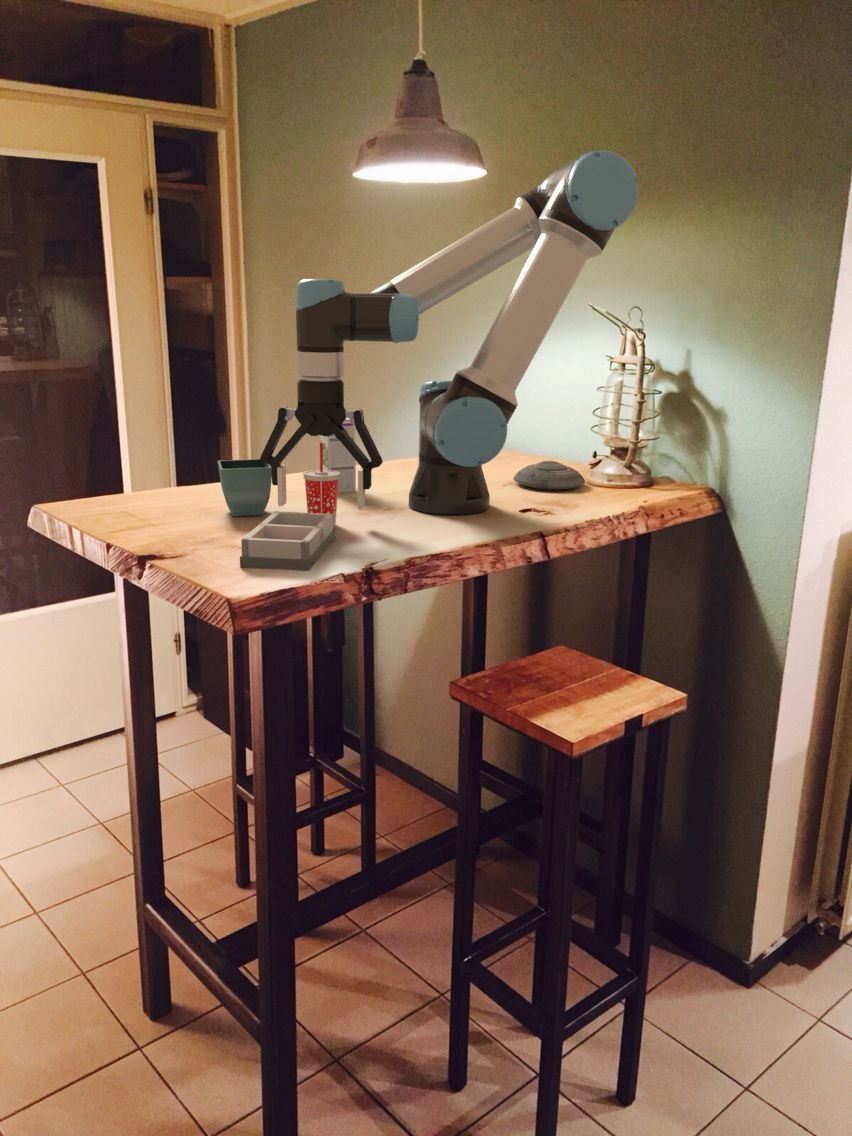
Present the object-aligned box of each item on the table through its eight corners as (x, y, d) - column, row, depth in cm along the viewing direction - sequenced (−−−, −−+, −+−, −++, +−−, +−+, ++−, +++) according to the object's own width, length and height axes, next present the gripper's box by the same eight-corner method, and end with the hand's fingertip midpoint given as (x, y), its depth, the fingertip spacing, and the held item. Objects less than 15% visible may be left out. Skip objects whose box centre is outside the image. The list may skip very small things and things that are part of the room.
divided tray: (335, 537, 150) (335, 513, 149) (308, 570, 132) (308, 543, 131) (275, 534, 151) (274, 510, 150) (240, 567, 133) (239, 539, 132)
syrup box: (356, 492, 185) (356, 419, 181) (327, 494, 183) (327, 420, 179) (348, 487, 190) (348, 415, 186) (320, 488, 188) (319, 416, 184)
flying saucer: (594, 484, 200) (596, 459, 198) (570, 496, 187) (572, 469, 186) (528, 477, 207) (530, 452, 205) (501, 488, 194) (503, 462, 192)
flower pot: (222, 520, 161) (220, 468, 158) (219, 509, 169) (217, 459, 166) (273, 518, 163) (272, 467, 160) (268, 507, 171) (267, 458, 168)
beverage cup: (340, 521, 162) (340, 440, 158) (339, 529, 156) (338, 446, 152) (305, 520, 161) (304, 439, 157) (302, 529, 155) (301, 445, 152)
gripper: (399, 378, 154) (398, 504, 160) (252, 374, 156) (255, 498, 162) (393, 382, 147) (391, 514, 153) (238, 377, 149) (243, 507, 155)
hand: (321, 506), depth 158 cm, fingers open, 13 cm apart
